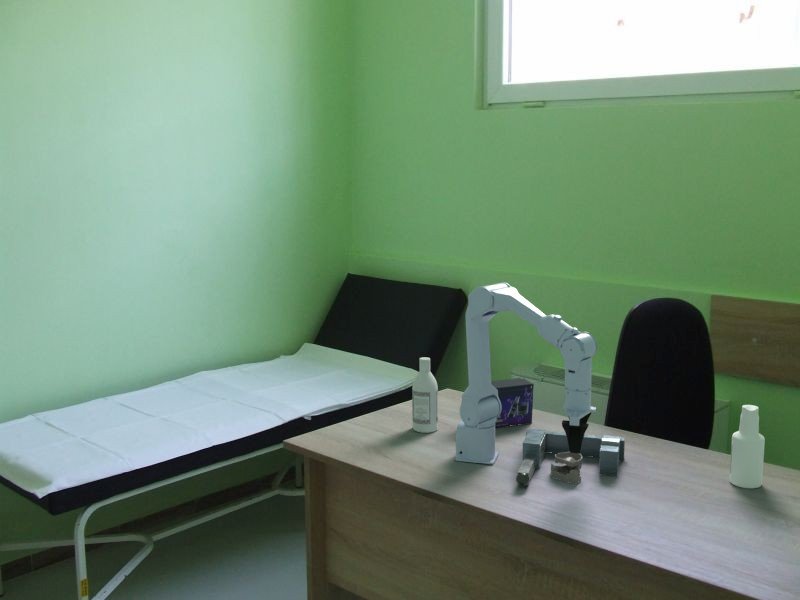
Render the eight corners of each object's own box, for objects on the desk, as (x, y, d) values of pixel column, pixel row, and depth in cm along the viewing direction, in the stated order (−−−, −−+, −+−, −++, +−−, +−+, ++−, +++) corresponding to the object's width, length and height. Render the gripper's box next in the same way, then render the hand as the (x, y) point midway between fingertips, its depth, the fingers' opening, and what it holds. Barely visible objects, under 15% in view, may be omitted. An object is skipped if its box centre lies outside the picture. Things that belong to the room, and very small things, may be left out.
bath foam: (427, 423, 231) (426, 354, 228) (443, 429, 226) (442, 358, 222) (407, 428, 227) (406, 358, 223) (423, 435, 222) (422, 362, 218)
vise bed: (518, 466, 199) (518, 439, 198) (527, 448, 211) (527, 422, 210) (621, 476, 192) (622, 449, 190) (624, 457, 204) (625, 431, 203)
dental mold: (592, 479, 191) (593, 459, 190) (570, 486, 187) (570, 465, 186) (568, 468, 197) (568, 448, 197) (546, 474, 194) (546, 454, 193)
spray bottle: (760, 479, 189) (765, 403, 186) (762, 490, 183) (768, 412, 180) (728, 475, 192) (733, 401, 188) (729, 487, 185) (734, 410, 182)
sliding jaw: (512, 488, 185) (512, 463, 184) (529, 451, 208) (529, 428, 207) (530, 490, 184) (531, 465, 183) (545, 452, 207) (546, 429, 206)
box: (478, 431, 224) (479, 389, 222) (468, 424, 230) (468, 383, 228) (533, 423, 230) (534, 382, 228) (521, 416, 236) (522, 376, 234)
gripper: (594, 398, 174) (592, 459, 176) (598, 380, 188) (596, 437, 190) (560, 396, 176) (559, 456, 178) (567, 378, 190) (565, 434, 192)
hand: (576, 446), depth 184 cm, fingers open, 7 cm apart
